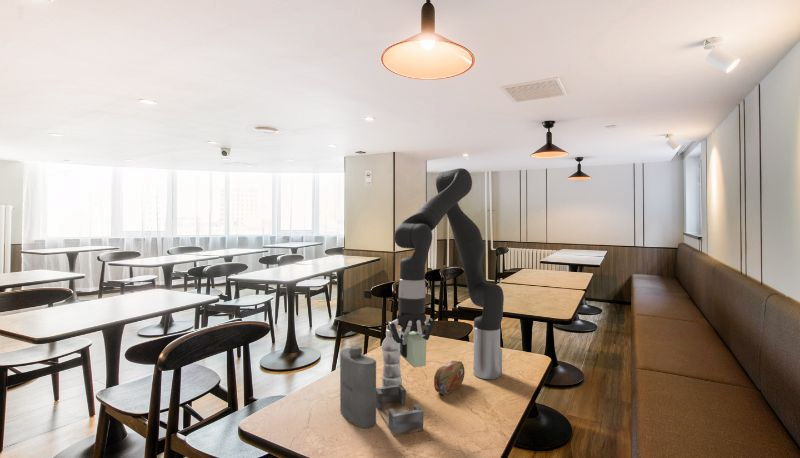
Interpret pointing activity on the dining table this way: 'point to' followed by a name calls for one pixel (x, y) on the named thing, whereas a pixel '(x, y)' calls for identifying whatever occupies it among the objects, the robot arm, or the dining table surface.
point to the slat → (415, 349)
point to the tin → (449, 377)
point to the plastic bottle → (391, 361)
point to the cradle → (398, 410)
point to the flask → (358, 387)
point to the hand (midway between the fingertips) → (410, 355)
